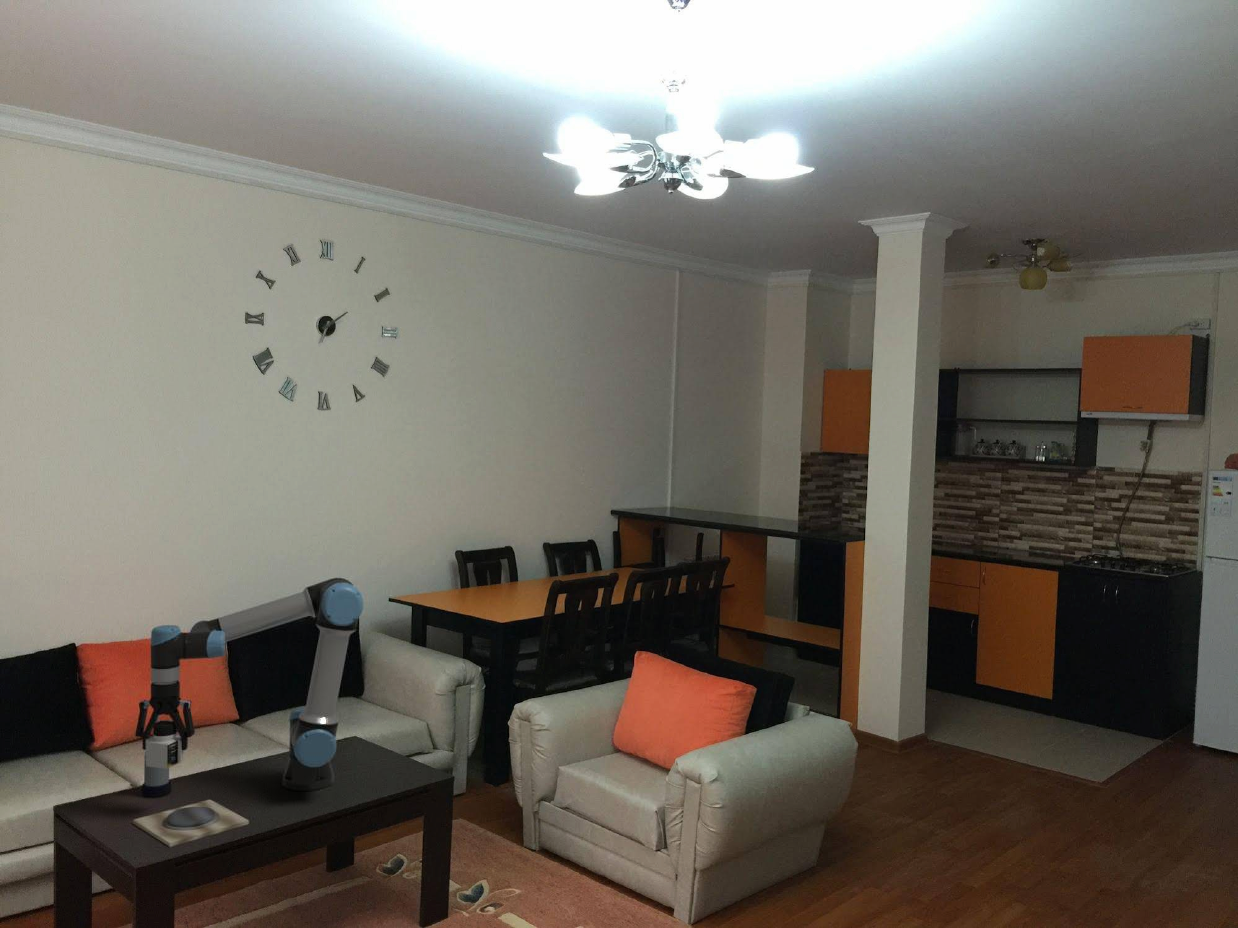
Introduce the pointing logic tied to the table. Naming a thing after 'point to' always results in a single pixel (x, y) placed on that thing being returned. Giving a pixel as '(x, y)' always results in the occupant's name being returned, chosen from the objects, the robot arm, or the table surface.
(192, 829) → the square wooden board
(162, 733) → the medicine bottle
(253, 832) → the table surface
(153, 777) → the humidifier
